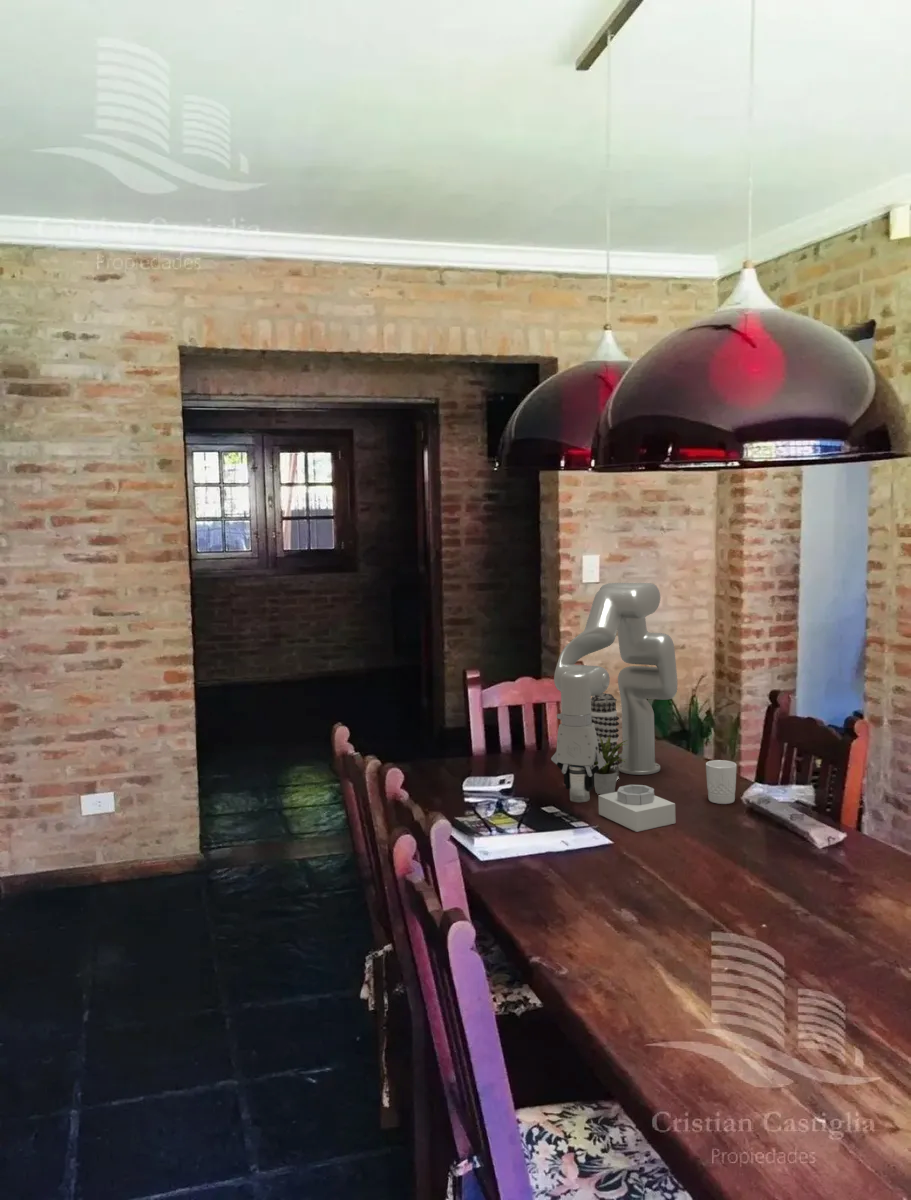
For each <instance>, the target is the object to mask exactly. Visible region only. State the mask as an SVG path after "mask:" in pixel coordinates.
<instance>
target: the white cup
mask: <svg viewBox="0 0 911 1200" xmlns="http://www.w3.org/2000/svg"><path fill="white" fill-rule="evenodd" d="M705 773H706V774H705V775H706V787H707V795H708V798H707V799H708V801H709V802H710V803H712V804H713V803H714V804H719V805H720V804H721V805H727V804H732V803H734V802H735V801H736V800H735V799H736V786H737V763H736V762H735V761H732V760H725V759H723V760H721V759H715V760H709V761H707V762H705Z"/></svg>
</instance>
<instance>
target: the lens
mask: <svg viewBox="0 0 911 1200" xmlns="http://www.w3.org/2000/svg"><path fill="white" fill-rule="evenodd" d="M586 776H587V771H586V767H585V766H579V765H569V785H570V788H569V800H570V802H573V803H585V802H588V801H590V791H589V792H587V791H586Z"/></svg>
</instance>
